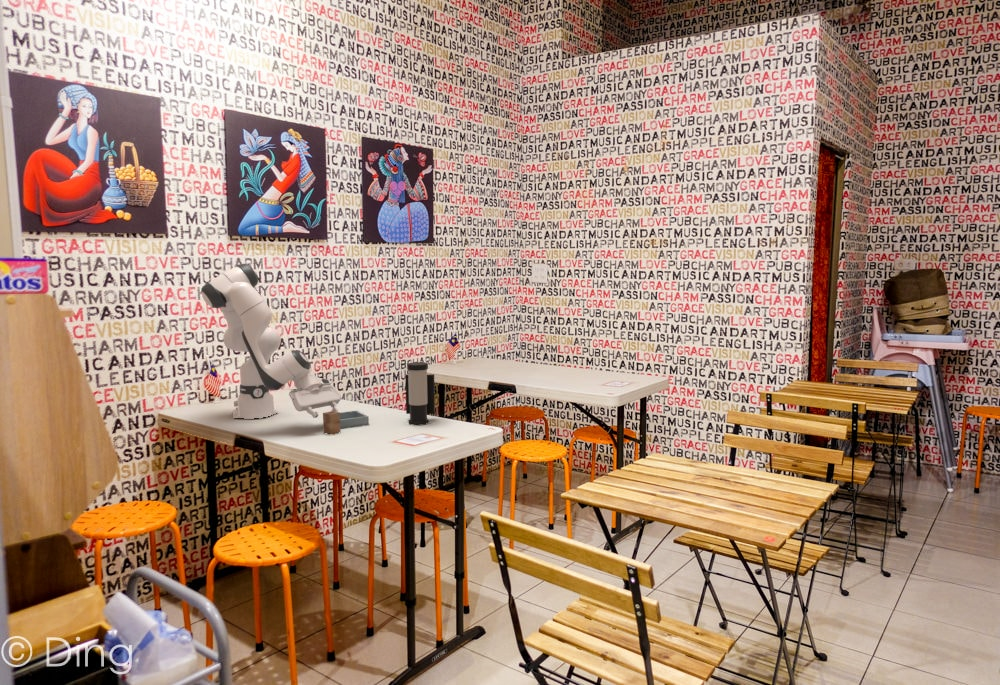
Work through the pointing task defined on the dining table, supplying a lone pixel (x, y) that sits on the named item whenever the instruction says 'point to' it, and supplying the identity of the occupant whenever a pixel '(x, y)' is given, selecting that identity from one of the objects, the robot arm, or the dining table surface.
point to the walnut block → (331, 422)
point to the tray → (353, 419)
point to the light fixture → (419, 393)
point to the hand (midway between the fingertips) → (326, 414)
